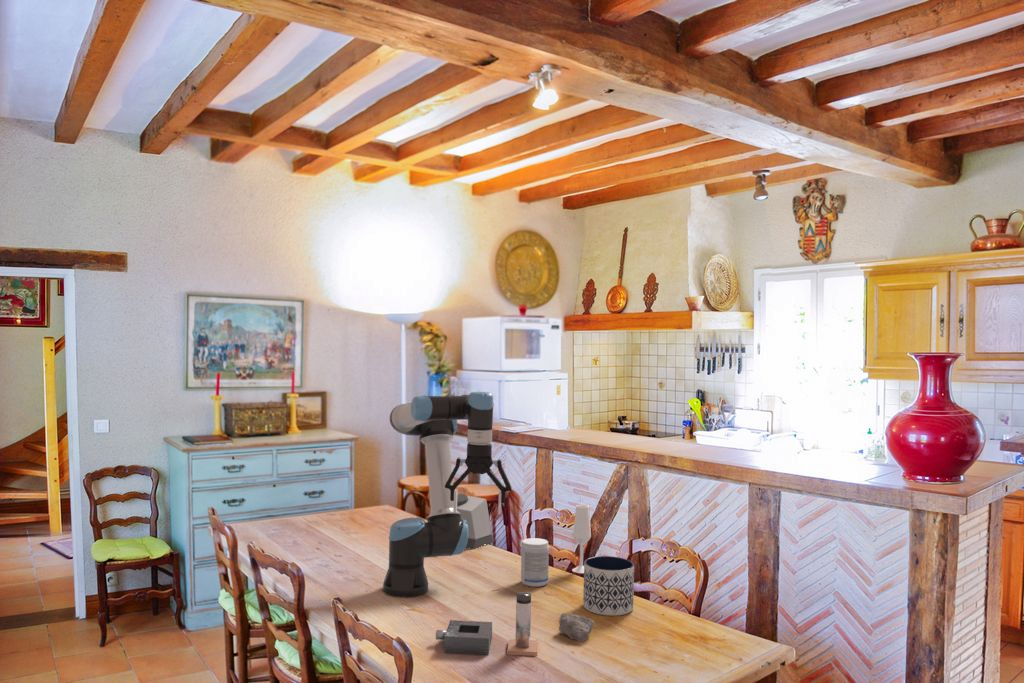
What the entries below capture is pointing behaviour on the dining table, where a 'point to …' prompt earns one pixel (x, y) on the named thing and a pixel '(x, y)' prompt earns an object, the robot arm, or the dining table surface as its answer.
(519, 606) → the grey tall cylinder
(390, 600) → the dining table surface
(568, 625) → the stone
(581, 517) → the champagne flute
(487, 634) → the block
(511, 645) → the coaster
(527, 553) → the supplement tub
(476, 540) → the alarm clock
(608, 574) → the planter
